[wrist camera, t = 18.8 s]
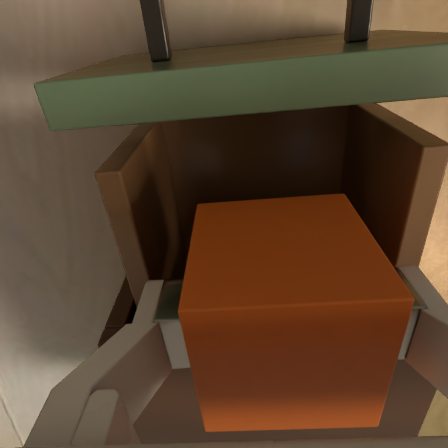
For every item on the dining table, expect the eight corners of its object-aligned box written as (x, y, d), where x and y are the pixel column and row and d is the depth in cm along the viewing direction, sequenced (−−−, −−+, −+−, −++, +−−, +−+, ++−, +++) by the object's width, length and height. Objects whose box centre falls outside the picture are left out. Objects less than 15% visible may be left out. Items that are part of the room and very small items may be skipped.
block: (196, 202, 10) (176, 311, 6) (344, 192, 10) (416, 299, 6) (212, 307, 12) (204, 432, 8) (332, 301, 12) (378, 428, 8)
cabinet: (151, 212, 20) (96, 345, 12) (364, 197, 19) (463, 328, 11) (187, 364, 27) (168, 509, 19) (340, 357, 27) (388, 506, 19)
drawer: (80, -127, 12) (-118, -325, 5) (411, -172, 11) (691, -472, 4) (172, 284, 22) (147, 400, 15) (349, 274, 21) (404, 390, 14)
